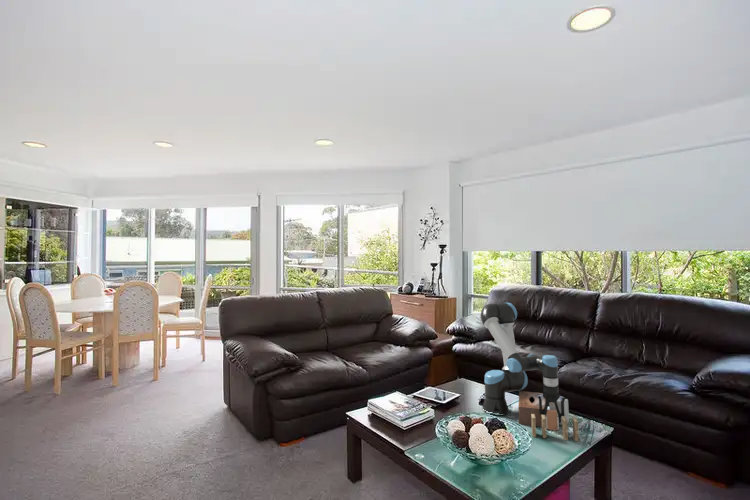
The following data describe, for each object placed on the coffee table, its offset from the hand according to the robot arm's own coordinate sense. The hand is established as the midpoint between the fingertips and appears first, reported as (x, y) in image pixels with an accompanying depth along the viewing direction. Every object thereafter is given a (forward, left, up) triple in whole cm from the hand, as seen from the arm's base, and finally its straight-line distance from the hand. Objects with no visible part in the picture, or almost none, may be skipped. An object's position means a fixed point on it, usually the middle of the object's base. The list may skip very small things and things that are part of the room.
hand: (552, 427), depth 212 cm
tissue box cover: (-16, +7, -1) cm, 18 cm away
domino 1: (-3, -13, -1) cm, 14 cm away
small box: (-2, +11, -1) cm, 12 cm away
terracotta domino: (0, 0, -1) cm, 1 cm away
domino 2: (+1, -10, -1) cm, 10 cm away
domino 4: (+13, -1, -1) cm, 14 cm away
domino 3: (+9, -4, -1) cm, 10 cm away
